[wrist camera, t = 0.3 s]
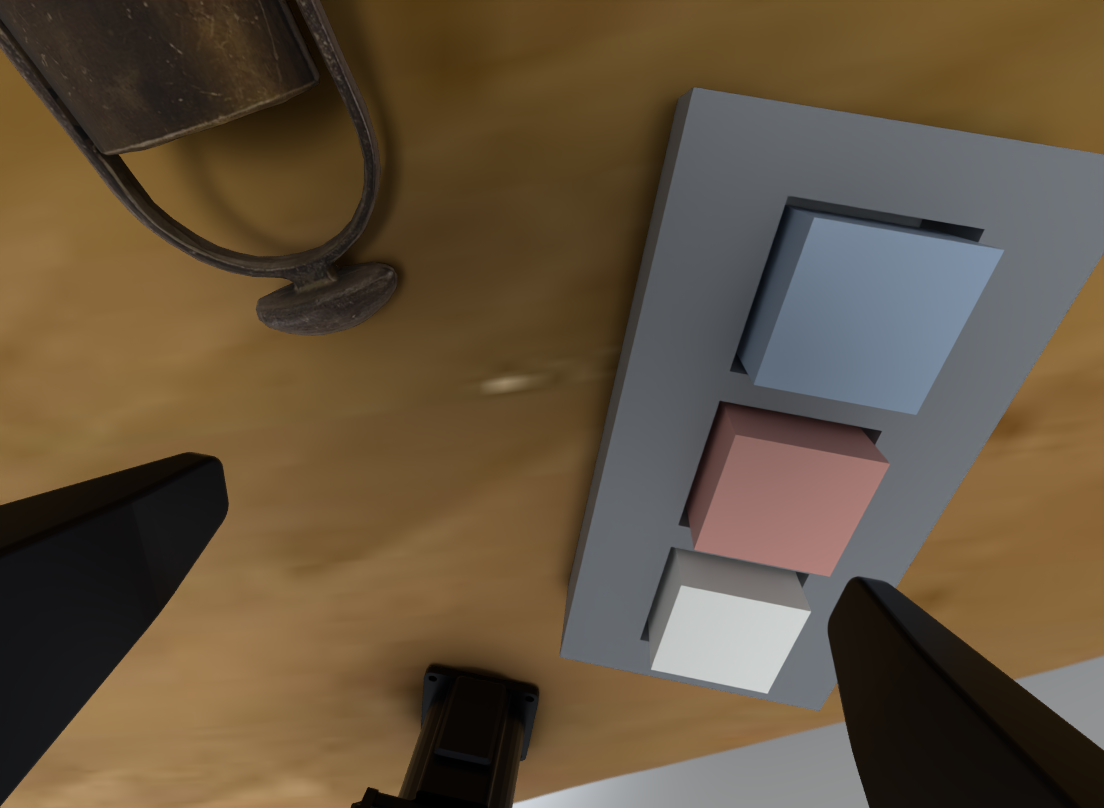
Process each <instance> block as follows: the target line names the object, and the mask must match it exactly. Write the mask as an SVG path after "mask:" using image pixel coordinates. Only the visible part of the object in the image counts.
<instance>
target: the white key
mask: <svg viewBox="0 0 1104 808" xmlns="http://www.w3.org/2000/svg"><path fill="white" fill-rule="evenodd" d="M810 613H811V610H810V607H809V605H808V602H807V600H806V597H805V595H804V592H803V590H802V587H801V585H800V582H799V580H798V577H797V575H796V572H795V571H791V570H786V569H781V568H776V567H771V566H766V565H761V564H756V563H751V562H746V561H741V560H736V559H731V558H725V557H720V556H715V555H710V554H705V553H700V552H695V551H690V550H685V549H680V548H675V547H671V548H670V551H669V554H668V557H667V560H666V563H665V566H664V569H663V572H662V575H661V578H660V581H659V584H658V587H657V590H656V593H655V596H654V599H653V602H652V605H651V608H650V611H649V614H648V627H649V645H650V664H651V670H655V671H660V672H665V673H670V674H675V675H680V676H684V677H689V678H694V679H699V680H704V681H709V682H713V683H718V684H723V685H728V686H733V687H738V688H742V689H747V690H752V691H757V692H762V693H768V691H769V690H770V688H771V686H772V684H773V682H774V680H775V678H776V677H777V675H778V673H779V671H780V669H781V667H782V665H783V663H784V662H785V660H786V658H787V656H788V654H789V652H790V650H791V648H792V647H793V645H794V643H795V641H796V639H797V637H798V635H799V633H800V632H801V630H802V628H803V626H804V624H805V622H806V620H807V619H808V617H809V615H810Z"/></svg>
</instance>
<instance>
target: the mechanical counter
mask: <svg viewBox="0 0 1104 808" xmlns="http://www.w3.org/2000/svg"><path fill="white" fill-rule="evenodd" d="M296 2H297V4H298V6H299V9H300V11H301V13H302V15H303V18H304V20H305V22H306V24H307V26H308V28H309V30H310V32H311V34H312V36H313V39H314V41H315V43H316V45H317V47H318V49H319V51H320V53H321V55H322V57H323V60H324V62H325V64H326V66H327V68H328V70H329V72H330V74H331V76H332V78H333V80H334V82H335V84H336V86H337V89H338V91H339V93H340V95H341V97H342V99H343V102H344V104H345V106H346V108H347V111H348V113H349V115H350V117H351V119H352V122H353V124H354V127H355V130H356V132H357V135H358V137H359V141H360V145H361V150H362V154H363V158H364V187H363V194H362V198H361V200H360V203H359V205H358V207H357V209H356V211H355V214H354V216H353V218H352V220H351V221H350V222H349V223H348V224H347V225H346V227H345V228H344V229H343V230H342V231H341V232H340V233H339V234H338V235H337V236H335V237H334V238H332V239H331V240H330V241H328V242H327V243H325V244H324V245H323V246H321V247H318V248H315V249H312V250H308V251H305V252H301V253H296V254H290V255H284V256H269V257H257V256H253V255H248V254H243V253H238V252H235V251H232V250H229V249H225V248H222V247H219V246H217V245H215V244H213V243H211V242H209V241H207V240H206V239H204V238H202V237H200V236H198V235H196V234H195V233H193V232H192V231H190V230H189V229H187V228H186V227H185V226H183V225H182V224H180V223H179V222H177V221H176V220H174V219H173V218H172V217H170V216H169V215H168V214H167V213H166V212H165V211H163V210H162V209H161V208H160V207H159V206H158V205H156V204H155V203H154V202H153V200H152V199H151V198H150V196H149V195H148V194H147V192H146V191H145V190H144V188H143V187H142V186H141V184H140V183H139V182H138V180H137V179H136V178H135V176H134V175H133V174H132V172H131V171H130V170H129V168H128V167H127V166H126V164H125V163H124V161H123V160H122V159H121V157H120V156H119V154H123V153H127V152H134V151H141V150H146V149H149V148H153V147H156V146H159V145H162V144H165V143H167V142H170V141H173V140H175V139H178V138H180V137H183V136H186V135H189V134H193V133H196V132H199V131H203V130H206V129H209V128H212V127H215V126H219V125H222V124H225V123H227V122H230V121H233V120H235V119H238V118H241V117H243V116H246V115H249V114H251V113H254V112H257V111H260V110H263V109H266V108H269V107H272V106H275V105H278V104H281V103H284V102H286V101H288V100H289V99H290V98H292V97H295V96H297V95H299V94H301V93H303V92H305V91H307V90H309V89H311V88H312V87H314V86H316V85H317V84H319V83H320V72H319V70H318V68H317V66H316V64H315V62H314V59H313V57H312V55H311V53H310V51H309V49H308V46H307V44H306V42H305V40H304V38H303V35H302V33H301V31H300V29H299V26H298V24H297V22H296V20H295V18H294V15H293V13H292V11H291V9H290V7H289V4H288V2H287V0H0V48H1V49H2V51H3V52H4V53H5V55H6V56H7V57H8V59H9V60H10V61H11V62H12V64H13V65H14V66H15V68H16V69H17V70H18V71H19V73H20V74H21V75H22V77H23V78H24V79H25V80H26V82H27V83H28V84H29V85H30V87H31V88H32V89H33V90H34V92H35V93H36V94H37V96H38V97H39V98H40V99H41V101H42V102H43V103H44V104H45V106H46V107H47V108H48V109H49V111H50V112H51V113H52V115H53V116H54V117H55V118H56V120H57V121H58V122H59V124H60V125H61V126H62V127H63V129H64V130H65V131H66V132H67V134H68V135H69V136H70V138H71V139H72V140H73V141H74V143H75V144H76V145H77V147H78V148H79V149H80V150H81V152H82V153H83V154H84V156H85V157H86V158H87V159H88V161H89V162H90V163H91V165H92V166H93V167H94V168H95V170H96V171H97V173H98V174H99V175H100V177H101V178H102V179H103V181H104V182H105V184H106V185H107V186H108V187H109V189H110V190H111V191H112V192H113V194H114V195H115V196H116V197H117V198H118V199H119V200H120V201H121V203H122V204H123V205H124V206H125V207H126V208H127V209H128V210H129V212H131V213H132V214H133V215H134V216H135V217H136V218H137V219H138V220H139V221H140V222H141V223H142V224H143V225H145V226H146V227H147V228H149V229H150V230H151V231H153V232H154V233H155V234H157V235H158V236H160V237H161V238H162V239H164V240H165V241H167V242H168V243H170V244H171V245H173V246H175V247H176V248H178V249H180V250H182V251H183V252H185V253H187V254H188V255H190V256H192V257H193V258H195V259H197V260H199V261H201V262H204V263H206V264H209V265H211V266H214V267H216V268H219V269H222V270H225V271H228V272H231V273H236V274H242V275H247V276H252V277H275V278H285V279H289V280H290V281H292V282H293V283H292V284H290V285H287V286H285V287H282V288H280V289H278V290H276V291H274V292H272V293H270V294H268V295H266V296H264V297H262V298H260V299H259V300H258V302H257V306H256V311H257V315H258V317H259V320H260V321H262V322H263V323H264V324H265V325H267V326H268V327H269V328H272V329H275V330H279V331H282V332H286V333H290V334H299V335H325V334H329V333H334V332H338V331H342V330H346V329H349V328H351V327H354V326H357V325H358V324H360V323H362V322H363V321H365V320H367V319H368V318H369V317H371V316H372V315H373V314H375V313H376V312H377V311H378V310H379V309H380V308H381V307H382V306H383V305H384V304H385V303H386V302H387V301H388V300H389V299H390V297H391V296H392V294H393V292H394V291H395V289H396V287H397V274H396V272H395V270H394V269H393V268H392V267H390V266H388V265H386V264H382V263H373V262H370V263H364V264H357V265H351V266H345V267H338V266H336V264H335V263H334V261H335V260H337V259H338V258H339V257H340V256H342V255H343V254H344V253H345V252H346V251H347V250H348V249H350V247H351V246H352V245H353V244H354V243H355V242H356V240H357V239H358V238H359V237H360V236H361V235H362V233H363V232H364V230H365V228H366V225H367V223H368V221H369V218H370V216H371V214H372V211H373V209H374V205H375V201H376V197H377V193H378V189H379V183H380V173H381V166H380V158H379V150H378V143H377V140H376V136H375V133H374V130H373V126H372V123H371V120H370V116H369V113H368V109H367V106H366V103H365V101H364V99H363V97H362V95H361V93H360V90H359V88H358V86H357V84H356V82H355V80H354V77H353V75H352V73H351V71H350V69H349V67H348V65H347V62H346V60H345V58H344V56H343V53H342V51H341V49H340V46H339V44H338V42H337V39H336V37H335V34H334V32H333V30H332V27H331V25H330V23H329V20H328V18H327V16H326V13H325V11H324V9H323V6H322V4H321V2H320V0H296Z"/></svg>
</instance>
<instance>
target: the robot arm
mask: <svg viewBox="0 0 1104 808" xmlns="http://www.w3.org/2000/svg"><path fill="white" fill-rule="evenodd" d="M228 505H229V502H228V495H227V489H226V483H225V477H224V470H223V465H222V463H221V461H220V460H219V459H218V458H216V457H214V456H210V455H205V454H199V453H193V452H186V453H182V454H178V455H175V456H171V457H168V458H164V459H161V460H157V461H154V462H150V463H147V464H143V465H140V466H136V467H133V468H129V469H126V470H122V471H119V472H115V473H112V474H108V475H105V476H101V477H98V478H94V479H91V480H87V481H84V482H80V483H77V484H73V485H70V486H66V487H63V488H59V489H56V490H52V491H49V492H45V493H42V494H38V495H35V496H31V497H28V498H24V499H21V500H17V501H14V502H10V503H7V504H3V505H0V806H1V805H2V804H3V803H4V801H5V800H6V799H7V798H8V797H9V795H10V794H11V793H12V792H13V791H14V789H15V788H16V787H17V786H18V784H19V783H20V782H21V781H22V780H23V778H24V777H25V776H26V775H27V774H28V772H29V771H30V770H31V769H32V768H33V766H34V765H35V764H36V763H37V762H38V760H39V759H40V758H41V757H42V755H43V754H44V753H45V752H46V751H47V749H48V748H49V747H50V746H51V745H52V743H53V742H54V741H55V740H56V739H57V737H58V736H59V735H60V734H61V733H62V731H63V730H64V729H65V728H66V727H67V725H68V724H69V723H70V722H71V720H72V719H73V718H74V717H75V716H76V714H77V713H78V712H79V711H80V710H81V708H82V707H83V706H84V705H85V704H86V702H87V701H88V700H89V699H90V698H91V696H92V695H93V694H94V693H95V692H96V690H97V689H98V688H99V687H100V685H101V684H102V683H103V682H104V681H105V679H106V678H107V677H108V676H109V675H110V673H111V672H112V671H113V670H114V669H115V667H116V666H117V665H118V664H119V663H120V661H121V660H122V659H123V658H124V656H125V655H126V654H127V653H128V652H129V650H130V649H131V648H132V647H133V646H134V644H135V643H136V642H137V641H138V640H139V638H140V637H141V636H142V635H143V634H144V632H145V631H146V630H147V629H148V627H149V626H150V625H151V624H152V622H153V621H154V620H155V619H156V617H157V616H158V615H159V614H160V612H161V611H162V609H163V608H164V607H165V605H166V604H167V603H168V601H169V600H170V598H171V597H172V596H173V594H174V593H175V591H176V590H177V588H178V587H179V585H180V584H181V583H182V581H183V580H184V578H185V577H186V575H187V574H188V572H189V571H190V569H191V568H192V566H193V565H194V563H195V562H196V561H197V559H198V558H199V556H200V555H201V553H202V552H203V550H204V549H205V547H206V546H207V544H208V543H209V541H210V540H211V539H212V537H213V536H214V534H215V533H216V531H217V530H218V528H219V527H220V525H221V524H222V522H223V521H224V519H225V517H226V515H227V511H228ZM827 632H828V639H829V644H830V649H831V654H832V659H833V664H834V668H835V673H836V678H837V683H838V688H839V693H840V697H841V702H842V707H843V712H844V717H845V722H846V726H847V731H848V735H849V739H850V743H851V748H852V752H853V755H854V759H855V762H856V766H857V769H858V772H859V776H860V779H861V782H862V785H863V788H864V792H865V795H866V798H867V801H868V805H869V808H1104V750H1103V749H1101V748H1100V747H1099V746H1097V745H1096V744H1095V743H1093V742H1092V741H1091V740H1090V739H1089V738H1087V737H1086V736H1085V735H1083V734H1082V733H1081V732H1080V731H1078V730H1077V729H1076V728H1074V727H1073V726H1072V725H1071V724H1069V723H1068V722H1066V721H1065V720H1064V719H1063V718H1061V717H1060V716H1059V715H1058V714H1056V713H1055V712H1054V711H1052V710H1051V709H1050V708H1049V707H1047V706H1046V705H1045V704H1044V703H1042V702H1041V701H1040V700H1038V699H1037V698H1036V697H1035V696H1033V695H1032V694H1031V693H1029V692H1028V691H1027V690H1025V689H1024V688H1023V687H1022V686H1020V685H1019V684H1018V683H1016V682H1015V681H1014V680H1013V679H1011V678H1010V677H1009V676H1008V675H1006V674H1005V673H1004V672H1002V671H1001V670H1000V669H999V668H997V667H996V666H995V665H993V664H992V663H991V662H990V661H988V660H987V659H986V658H984V657H983V656H982V655H981V654H979V653H978V652H977V651H975V650H974V649H973V648H972V647H970V646H969V645H968V644H966V643H965V642H964V641H963V640H961V639H960V638H959V637H957V636H956V635H955V634H954V633H952V632H951V631H950V630H948V629H947V628H946V627H945V626H943V625H942V624H941V623H939V622H938V621H937V620H936V619H934V618H933V617H932V616H930V615H929V614H928V613H927V612H925V611H924V610H923V609H921V608H920V607H919V606H918V605H916V604H915V603H914V602H912V601H911V600H910V599H909V598H907V597H906V596H905V595H903V594H902V593H901V592H900V591H898V590H897V589H896V588H894V587H893V586H892V585H891V584H889V583H887V582H885V581H882V580H877V579H872V578H867V577H861V576H856V577H853V578H851V579H850V580H849V581H848V582H847V584H846V586H845V588H844V590H843V592H842V594H841V595H840V597H839V599H838V601H837V603H836V605H835V607H834V609H833V611H832V613H831V615H830V617H829V620H828V627H827ZM538 700H539V691H538V690H537V689H536V688H534V687H531V686H526V685H521V684H517V683H512V682H507V681H502V680H497V679H493V678H488V677H483V676H478V675H474V674H469V673H464V672H459V671H455V670H450V669H445V668H440V667H436V666H431V667H428V668H427V670H426V673H425V676H424V686H423V703H422V720H421V731H420V734H419V737H418V740H417V743H416V746H415V749H414V752H413V755H412V758H411V761H410V764H409V767H408V770H407V773H406V775H405V778H404V781H403V784H402V787H401V790H400V793H399V796H398V797H396V796H392V795H388V794H384V793H380V792H379V790H378V789H374V788H370V787H368V788H367V790H366V792H365V795H364V797H363V799H362V801H360V802H356V803H353V804H352V805H351V808H512V806H513V799H514V793H515V787H516V781H517V775H518V769H519V763H520V761H523V760H525V758H526V755H527V751H528V746H529V741H530V737H531V732H532V728H533V723H534V719H535V714H536V710H537V705H538Z"/></svg>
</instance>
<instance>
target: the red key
mask: <svg viewBox="0 0 1104 808" xmlns="http://www.w3.org/2000/svg"><path fill="white" fill-rule="evenodd" d="M889 465H890V463H889V462H888V461H887V459H886V458H885V457H884V456H883V455H882V453H881V452H880V451H879V450H878V449H877V447H876V446H875V445H874V444H873V443H872V441H871V440H870V439H869V438H868V437H867V435H866V434H865V433H864V432H863V430H862V429H861V428H860V427H858V426H853V425H848V424H842V423H837V422H832V421H826V420H821V419H815V418H810V417H805V416H799V415H794V414H789V413H783V412H778V411H773V410H767V409H762V408H757V407H751V406H746V405H740V404H735V403H730V402H724V401H719V404H718V407H717V410H716V413H715V416H714V419H713V422H712V425H711V428H710V431H709V434H708V437H707V440H706V443H705V446H704V449H703V452H702V455H701V458H700V461H699V464H698V467H697V470H696V473H695V476H694V479H693V482H692V485H691V488H690V491H689V494H688V497H687V500H686V507H687V513H688V518H689V524H690V530H691V536H692V541H693V547H694V550H697V551H702V552H707V553H712V554H717V555H722V556H727V557H732V558H737V559H742V560H747V561H752V562H757V563H762V564H768V565H773V566H778V567H783V568H788V569H793V570H798V571H803V572H808V573H813V574H818V575H823V576H828V577H830V576H831V574H832V572H833V570H834V568H835V566H836V564H837V562H838V561H839V559H840V557H841V555H842V553H843V551H844V549H845V547H846V546H847V544H848V542H849V540H850V538H851V536H852V534H853V532H854V531H855V529H856V527H857V525H858V523H859V521H860V519H861V518H862V516H863V514H864V512H865V510H866V508H867V506H868V504H869V503H870V501H871V499H872V497H873V495H874V493H875V491H876V489H877V488H878V486H879V484H880V482H881V480H882V478H883V476H884V475H885V473H886V471H887V469H888V467H889Z"/></svg>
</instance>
